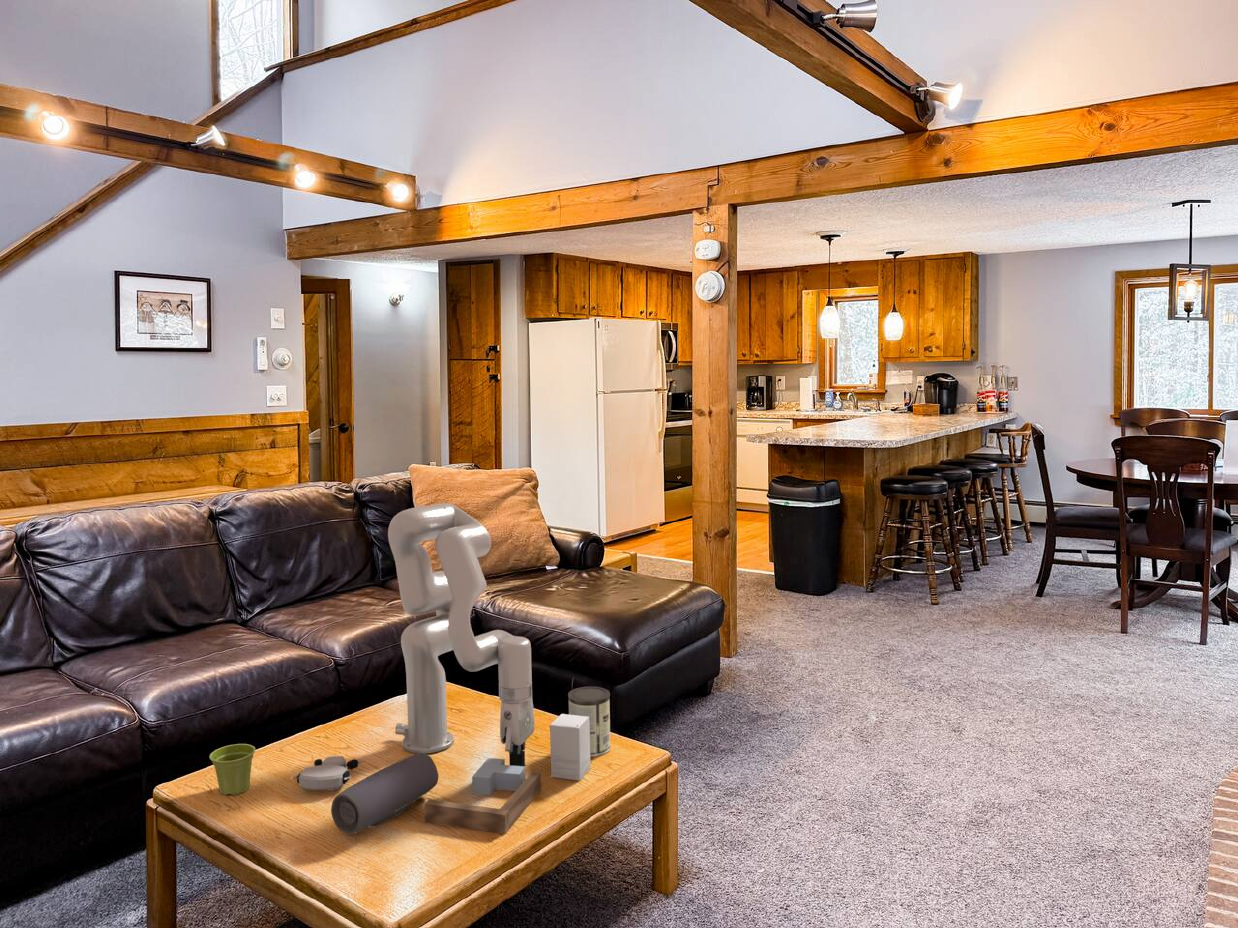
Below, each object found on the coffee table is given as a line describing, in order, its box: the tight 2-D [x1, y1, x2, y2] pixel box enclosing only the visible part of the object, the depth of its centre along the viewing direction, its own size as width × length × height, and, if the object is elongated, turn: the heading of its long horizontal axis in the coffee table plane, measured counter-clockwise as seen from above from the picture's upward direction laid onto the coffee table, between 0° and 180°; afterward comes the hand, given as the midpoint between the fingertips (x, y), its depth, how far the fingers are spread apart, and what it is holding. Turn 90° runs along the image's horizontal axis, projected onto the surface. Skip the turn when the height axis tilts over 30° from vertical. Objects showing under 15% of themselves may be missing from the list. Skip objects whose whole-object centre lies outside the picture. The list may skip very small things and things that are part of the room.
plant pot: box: [209, 743, 256, 796], centre depth 202 cm, size 9×9×9 cm
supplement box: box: [549, 713, 591, 782], centre depth 209 cm, size 7×7×13 cm
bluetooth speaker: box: [330, 753, 439, 835], centre depth 190 cm, size 23×9×10 cm, turn 149°
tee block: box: [471, 757, 527, 796], centre depth 203 cm, size 10×10×4 cm
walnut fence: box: [424, 771, 542, 834], centre depth 194 cm, size 18×20×4 cm
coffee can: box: [567, 686, 611, 758], centre depth 222 cm, size 10×10×14 cm
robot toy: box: [290, 755, 363, 791], centre depth 206 cm, size 12×4×15 cm
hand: (517, 767), depth 210 cm, fingers closed
